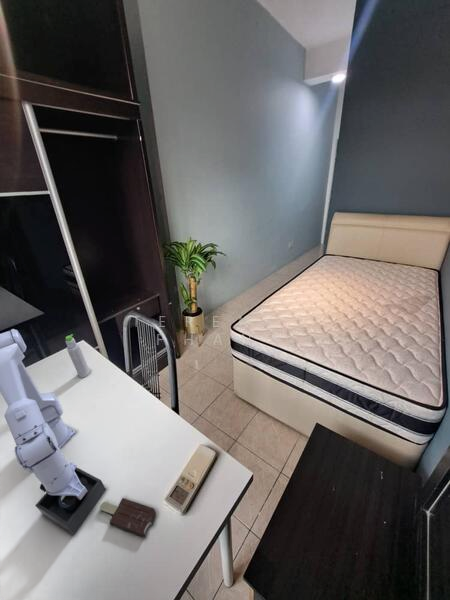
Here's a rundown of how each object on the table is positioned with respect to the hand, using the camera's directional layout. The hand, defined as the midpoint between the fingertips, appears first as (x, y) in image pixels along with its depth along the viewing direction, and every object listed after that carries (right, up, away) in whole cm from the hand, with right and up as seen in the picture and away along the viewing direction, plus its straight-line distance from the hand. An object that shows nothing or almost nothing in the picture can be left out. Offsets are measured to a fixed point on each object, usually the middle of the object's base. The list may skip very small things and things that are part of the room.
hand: (72, 497), depth 64 cm
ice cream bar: (+15, -3, -2) cm, 15 cm away
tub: (0, -2, +1) cm, 2 cm away
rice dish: (0, -1, +1) cm, 1 cm away
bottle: (-21, +20, +42) cm, 51 cm away
